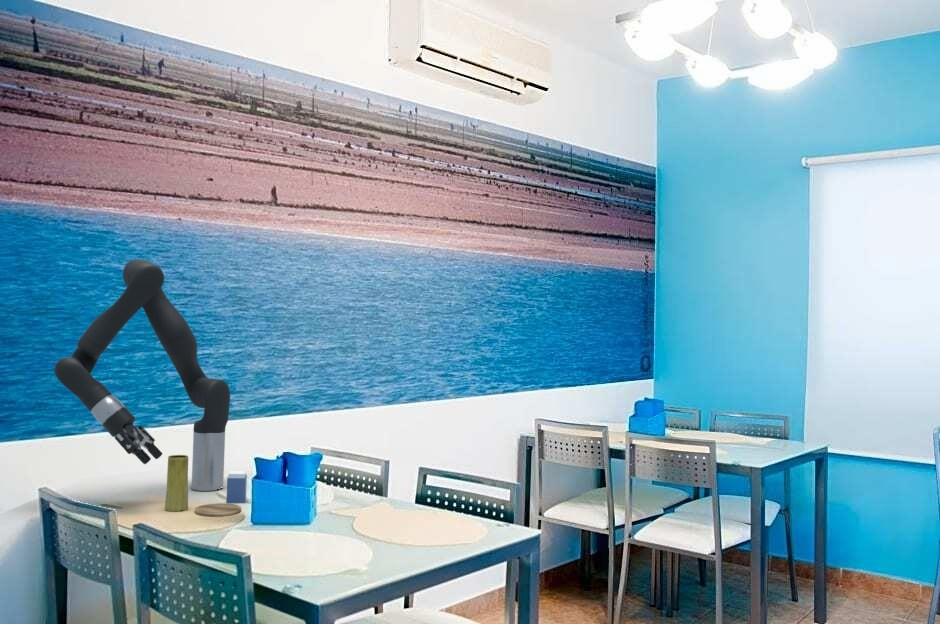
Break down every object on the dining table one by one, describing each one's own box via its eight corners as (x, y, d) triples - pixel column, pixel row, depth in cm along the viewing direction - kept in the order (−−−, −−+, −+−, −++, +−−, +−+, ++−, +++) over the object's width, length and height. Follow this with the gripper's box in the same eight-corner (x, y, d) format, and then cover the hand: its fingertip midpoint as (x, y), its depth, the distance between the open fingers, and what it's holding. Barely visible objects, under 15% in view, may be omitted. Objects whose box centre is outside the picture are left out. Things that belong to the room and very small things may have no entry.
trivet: (202, 505, 236) (202, 502, 236) (246, 507, 236) (246, 503, 236) (188, 515, 224) (188, 512, 224) (234, 517, 224) (234, 513, 224)
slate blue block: (228, 499, 245) (229, 470, 245) (246, 499, 246) (247, 470, 246) (226, 503, 240) (227, 474, 240) (244, 503, 241) (245, 474, 241)
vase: (180, 512, 227) (182, 458, 227) (159, 510, 228) (161, 457, 228) (192, 507, 233) (194, 455, 233) (172, 505, 234) (174, 453, 234)
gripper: (112, 408, 224) (154, 454, 224) (133, 403, 238) (173, 446, 238) (91, 428, 224) (133, 473, 224) (113, 421, 238) (153, 464, 238)
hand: (153, 459), depth 231 cm, fingers open, 8 cm apart
